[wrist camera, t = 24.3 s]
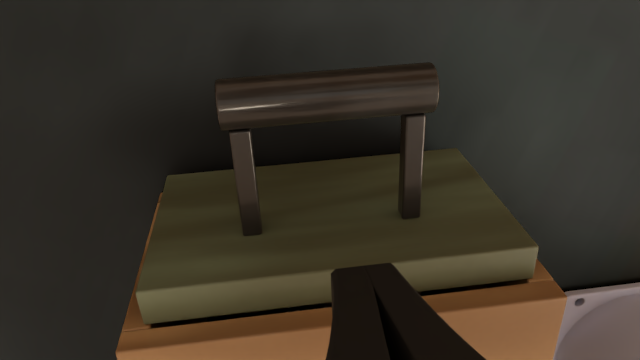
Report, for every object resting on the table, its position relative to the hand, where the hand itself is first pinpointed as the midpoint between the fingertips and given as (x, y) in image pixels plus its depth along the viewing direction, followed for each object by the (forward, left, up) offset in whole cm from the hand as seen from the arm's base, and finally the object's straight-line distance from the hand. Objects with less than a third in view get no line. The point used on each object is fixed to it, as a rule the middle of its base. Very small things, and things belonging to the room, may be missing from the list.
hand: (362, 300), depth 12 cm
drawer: (0, +5, -10) cm, 11 cm away
